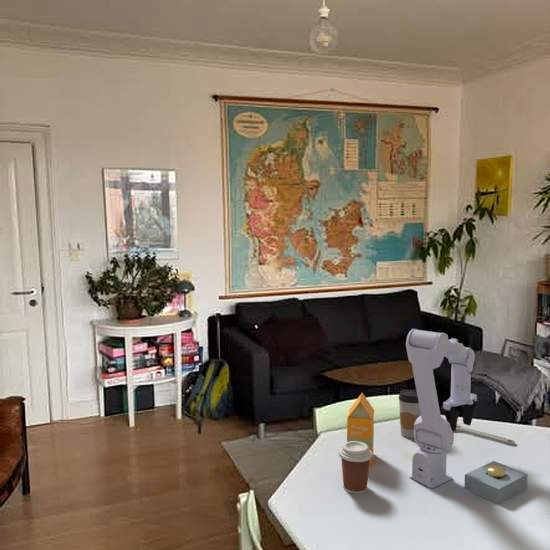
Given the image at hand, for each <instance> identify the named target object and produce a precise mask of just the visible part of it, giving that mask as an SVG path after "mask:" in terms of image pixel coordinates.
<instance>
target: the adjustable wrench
mask: <svg viewBox="0 0 550 550" xmlns="http://www.w3.org/2000/svg"><path fill="white" fill-rule="evenodd" d="M453 433H463V434H467V435H471V436H474V437H478V438H481V439H485V440H489V441H491V442H496V443H500V444H504V445H507V446H510V447H511V446H512V447H513V446H516V442H515V440H514V439H511V438H506V437H502V436H499V435H495V434H491V433H488V432H484V431H479V430H475V429H472V428H469V427H465V426H463V425H460V424H459V423H457V427H456V431H453Z"/></svg>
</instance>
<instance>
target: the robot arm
mask: <svg viewBox="0 0 550 550" xmlns="http://www.w3.org/2000/svg"><path fill="white" fill-rule="evenodd" d="M458 341H459V339H457V338H453V337H451V338H450V339H449V336H448V334H447V333H445V332H436V331H429V330H421V329H416V328H411V330H410V331H409V332H408V334H407V336H406V341H405V348H406V352H407V358H408V361H409V363H411V365H412V367H411V369H412V373H413V374H412V375H413V378H414V385H415V390H417V396H418V401H419V406H420V412H421V416H419V417H418V418H417V420H416V421H415V423H414V438H413V439H414V441H415V442H416V443H417V447H419V449H418V451H417V452H415V453H414V454H413V455H412V463H411V466H412V470H411V471H412V472H411V474H410V475H409V478H410V479H412V480H414V481H417V482H418V483H420V484H422V485H425V486H426V487H428V488H431V489H433V488H437V486H438V487H439V486H441V485H442V484H444V483H446V482H449V481H451V480H452V479H453V476H452V475H449V474H447V458H448V457H447V455H448V454H447V453H448V451H450V450H451V449H452V447H453V445H454V441H455V435H454V433H455V432H453V431H456V427H457V424H458V419H459V417H460V414H461V412H462V422H463V424H464V425H465V426H468V427H470V426H471V425H472V421H473V418H474V415H475V413H476V411H477V409H478V407H479V403H478V402H477V401H478V395H477V394H475V393H471V386H472V384H471V383H472V380H471V379H472V371H473V370H474V363H475V359H476V355H475V351H474V350H473V349H472V348H471V347H468V346H467V347H466V346H464V344H463V343H461V342H458ZM444 358H446V359H448V363H449V364H451V367H450V368H451V371H450V372H451V373H450V374H451V376H450V378H451V380H450V397H449V398H448V399H447V400H446V401H444V402H443V403H442V406H441V410H440V406H439V399H438V393H437V388H436V381H435V380H436V379H435V376H434V369H437V368H439V367H441V364H442V363H443V361H444ZM458 406H460V407H461V410H462V411H461V410H458V409H457V408H456V407H458ZM441 412H442V414H443V415H444V417H445V418H444V417H443V416H442V414H441Z"/></svg>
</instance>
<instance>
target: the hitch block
mask: <svg viewBox="0 0 550 550" xmlns="http://www.w3.org/2000/svg"><path fill="white" fill-rule="evenodd" d="M489 465H497V466H501V467H503V468H504V469H505V470H506V472H505V477H504V478H501V479H497V478H493V477H490V476H489V475H487V473H486V470H487V466H489ZM463 488H464V489H465V490H466V491H469V492H471V493H473V494H475V495H478V496H479V497H482V498H484V499H485V500H488V501H490V502H493V503H494V504H498V505H499V504H501V503H504V501H506V500H508V499H510V498H511V497H513V496H515V495H518V494H519V493H521V492H522V491H524V490H526V489H527V488H528V473H525V472H523V471H520V470H518V469H515V468H513V467H511V466H507V465H506V464H502V463H500V462H498V461H495V460H493V461H491V462H488V463H486V464H484V465H482V466H480V467H478V468H475V469H474V470H471V471H469V472H467V473H465V474H464V487H463Z"/></svg>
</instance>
